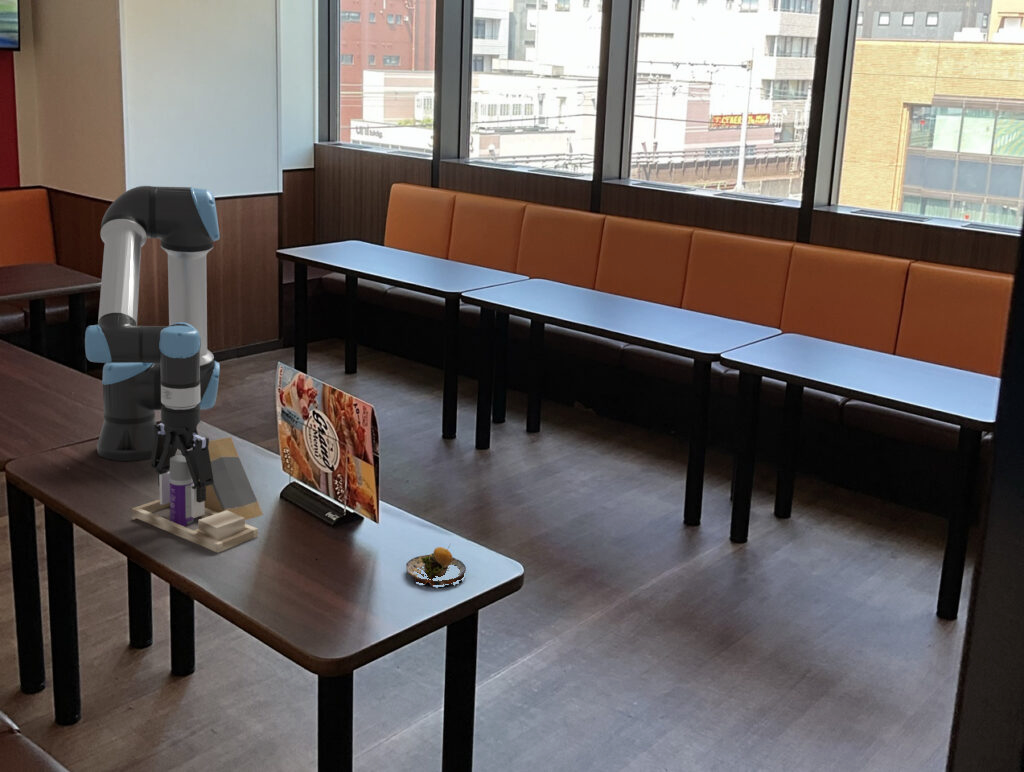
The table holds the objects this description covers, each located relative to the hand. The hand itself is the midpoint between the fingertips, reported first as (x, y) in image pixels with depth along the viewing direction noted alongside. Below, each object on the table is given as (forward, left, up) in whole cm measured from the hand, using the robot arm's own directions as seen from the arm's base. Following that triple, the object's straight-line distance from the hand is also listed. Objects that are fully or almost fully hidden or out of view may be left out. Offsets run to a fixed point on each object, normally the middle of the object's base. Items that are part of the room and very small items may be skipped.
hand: (182, 509), depth 221 cm
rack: (+4, 0, -4) cm, 5 cm away
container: (0, 0, -4) cm, 4 cm away
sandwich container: (+2, +11, -4) cm, 12 cm away
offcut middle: (+12, 0, -2) cm, 12 cm away
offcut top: (+12, 0, 0) cm, 12 cm away
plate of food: (+52, +18, -4) cm, 55 cm away
